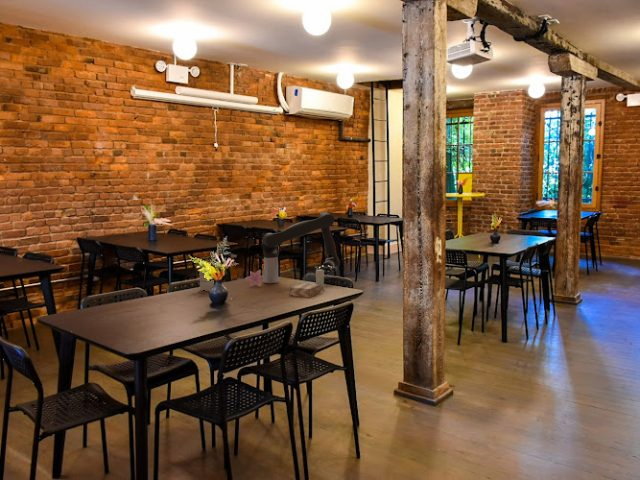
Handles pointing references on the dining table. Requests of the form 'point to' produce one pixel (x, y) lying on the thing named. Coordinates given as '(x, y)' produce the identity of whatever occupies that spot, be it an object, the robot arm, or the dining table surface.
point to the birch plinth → (304, 290)
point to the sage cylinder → (320, 278)
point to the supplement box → (205, 283)
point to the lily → (255, 278)
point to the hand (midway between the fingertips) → (323, 271)
